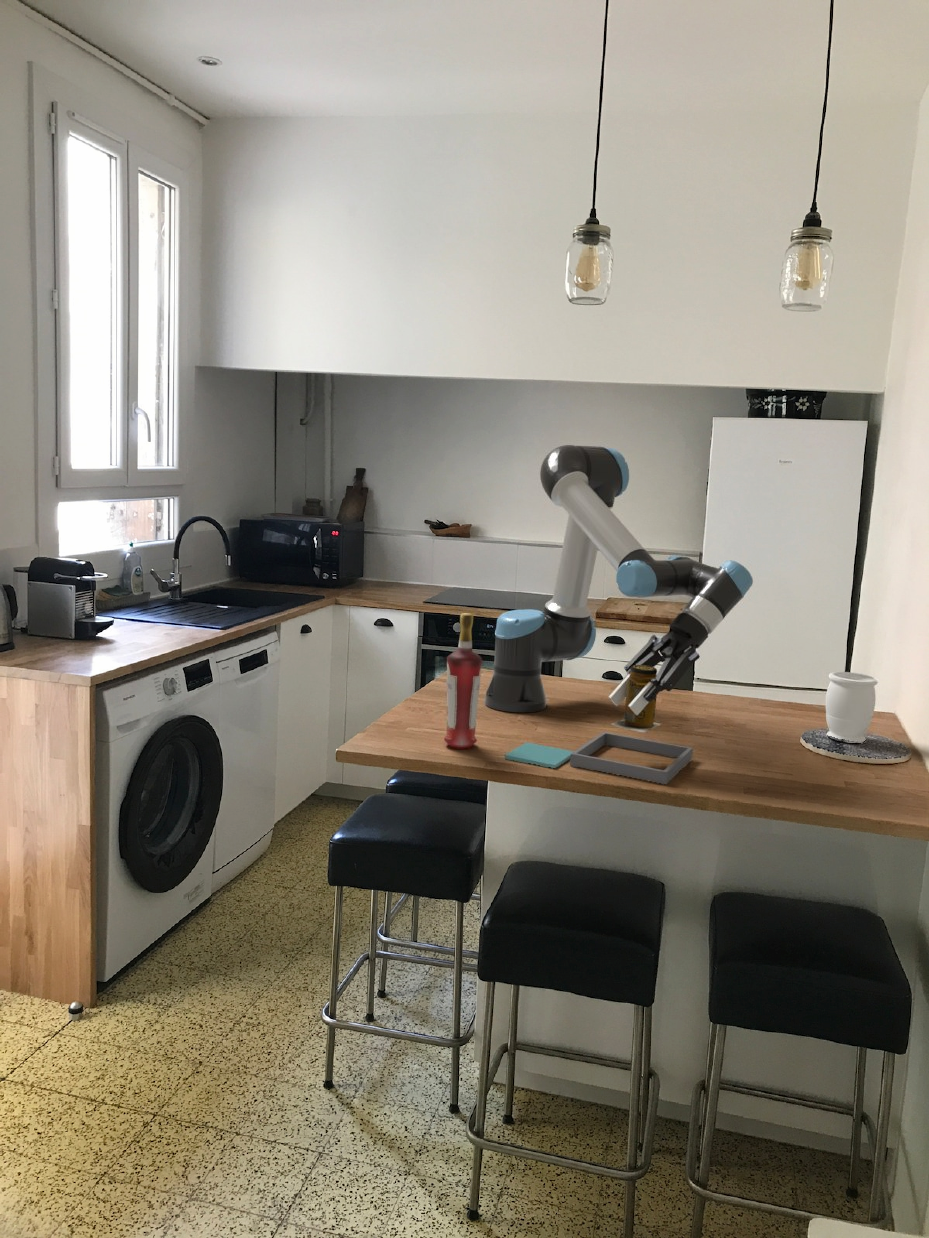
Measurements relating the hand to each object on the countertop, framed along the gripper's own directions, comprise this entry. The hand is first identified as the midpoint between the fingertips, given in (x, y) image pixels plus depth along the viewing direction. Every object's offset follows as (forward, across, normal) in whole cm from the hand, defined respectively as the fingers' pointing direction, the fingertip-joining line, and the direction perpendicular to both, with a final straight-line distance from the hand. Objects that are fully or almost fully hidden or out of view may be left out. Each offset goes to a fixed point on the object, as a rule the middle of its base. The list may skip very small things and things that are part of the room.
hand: (622, 705), depth 194 cm
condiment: (+1, 0, -6) cm, 6 cm away
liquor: (+27, +21, +9) cm, 35 cm away
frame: (+6, 0, -11) cm, 13 cm away
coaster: (+18, +9, 0) cm, 20 cm away
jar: (-36, -1, -54) cm, 65 cm away
